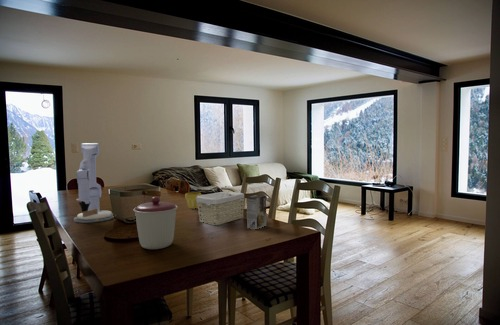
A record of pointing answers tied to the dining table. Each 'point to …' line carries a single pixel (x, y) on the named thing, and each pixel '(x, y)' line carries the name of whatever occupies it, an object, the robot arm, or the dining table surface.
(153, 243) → the canister
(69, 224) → the dining table surface
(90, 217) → the dial
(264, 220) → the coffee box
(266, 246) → the dining table surface
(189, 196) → the plant pot
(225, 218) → the storage basket
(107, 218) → the base
